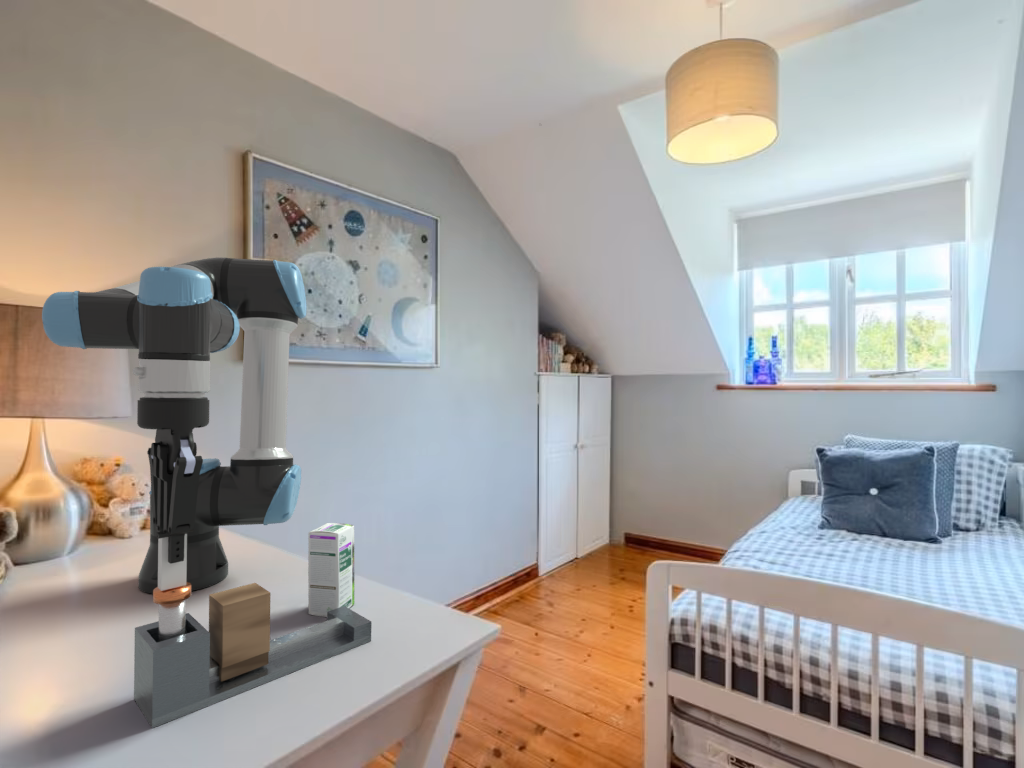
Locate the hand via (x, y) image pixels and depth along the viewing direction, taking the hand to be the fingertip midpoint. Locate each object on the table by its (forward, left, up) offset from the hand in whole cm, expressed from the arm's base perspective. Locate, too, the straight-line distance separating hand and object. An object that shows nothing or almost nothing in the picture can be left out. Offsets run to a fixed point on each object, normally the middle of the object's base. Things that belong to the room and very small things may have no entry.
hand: (172, 586), depth 67 cm
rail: (0, +12, -15) cm, 19 cm away
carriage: (0, +8, -13) cm, 15 cm away
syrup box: (-11, +27, -15) cm, 33 cm away
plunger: (0, 0, -11) cm, 11 cm away
